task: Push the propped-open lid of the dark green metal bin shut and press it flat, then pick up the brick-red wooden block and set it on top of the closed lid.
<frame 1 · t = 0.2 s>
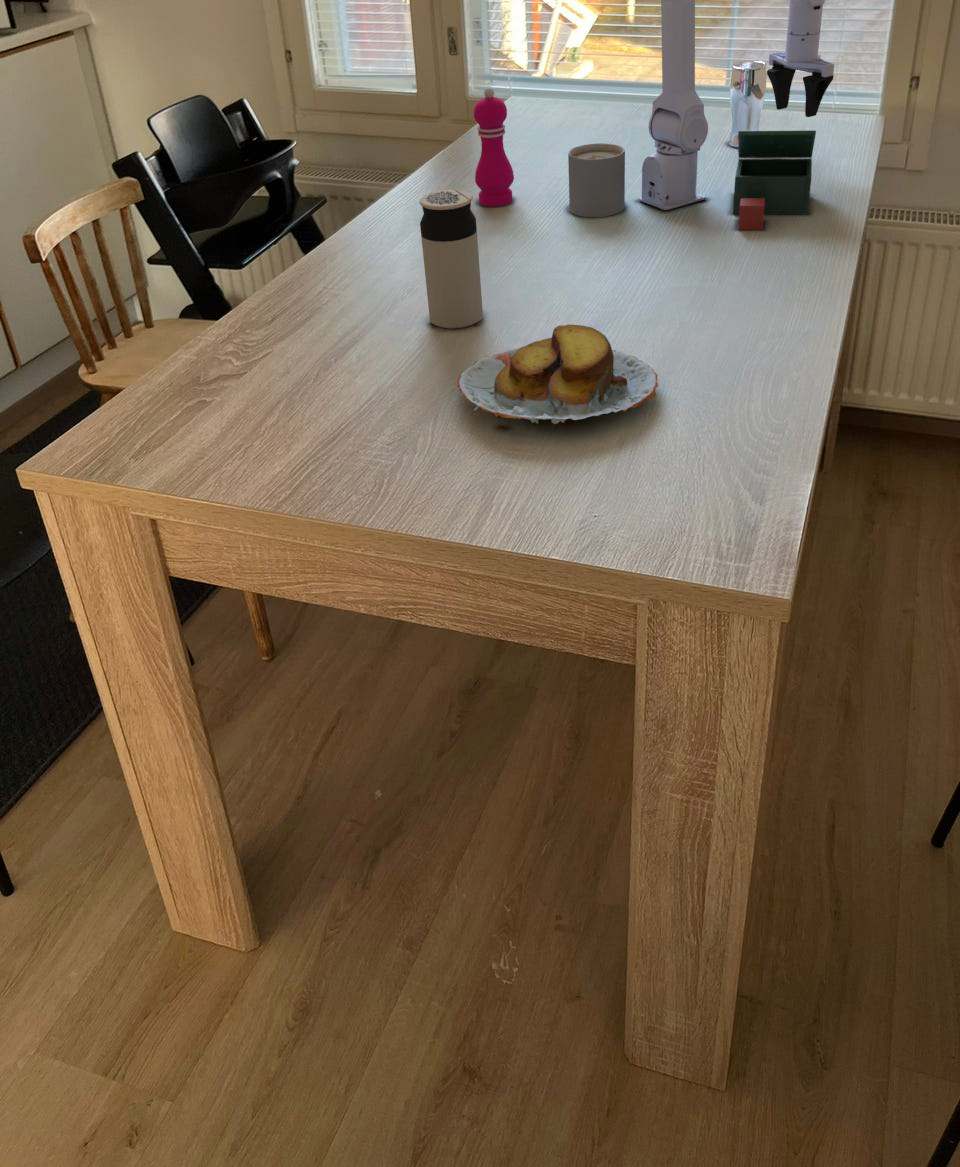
hand: (796, 112, 208), 10 cm above the table, tool pointing down, fingers open, 7 cm apart
coffee mug: (599, 206, 205), on the table
pepper mill: (495, 202, 211), on the table
block: (750, 225, 191), on the table
bin lid: (775, 144, 193), point 10 cm above the table, hinge at 35.0°
travel mug: (456, 320, 168), on the table
bin: (770, 204, 199), on the table
food on plate: (557, 396, 145), on the table
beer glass: (744, 144, 229), on the table
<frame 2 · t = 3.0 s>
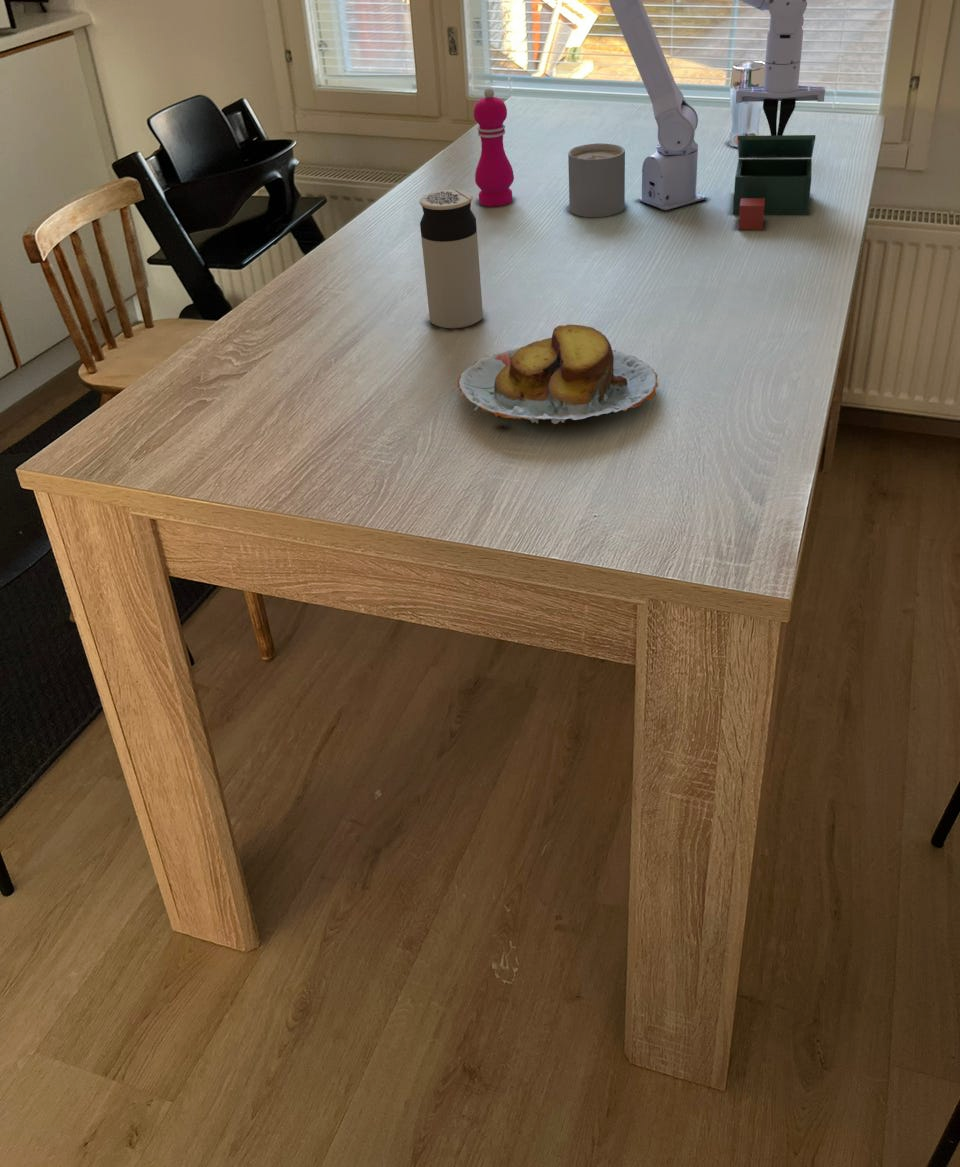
hand: (775, 145, 195), 9 cm above the table, tool pointing down, fingers closed
bin lid: (775, 147, 193), point 10 cm above the table, hinge at 31.0°, touching gripper
everything else where it was.
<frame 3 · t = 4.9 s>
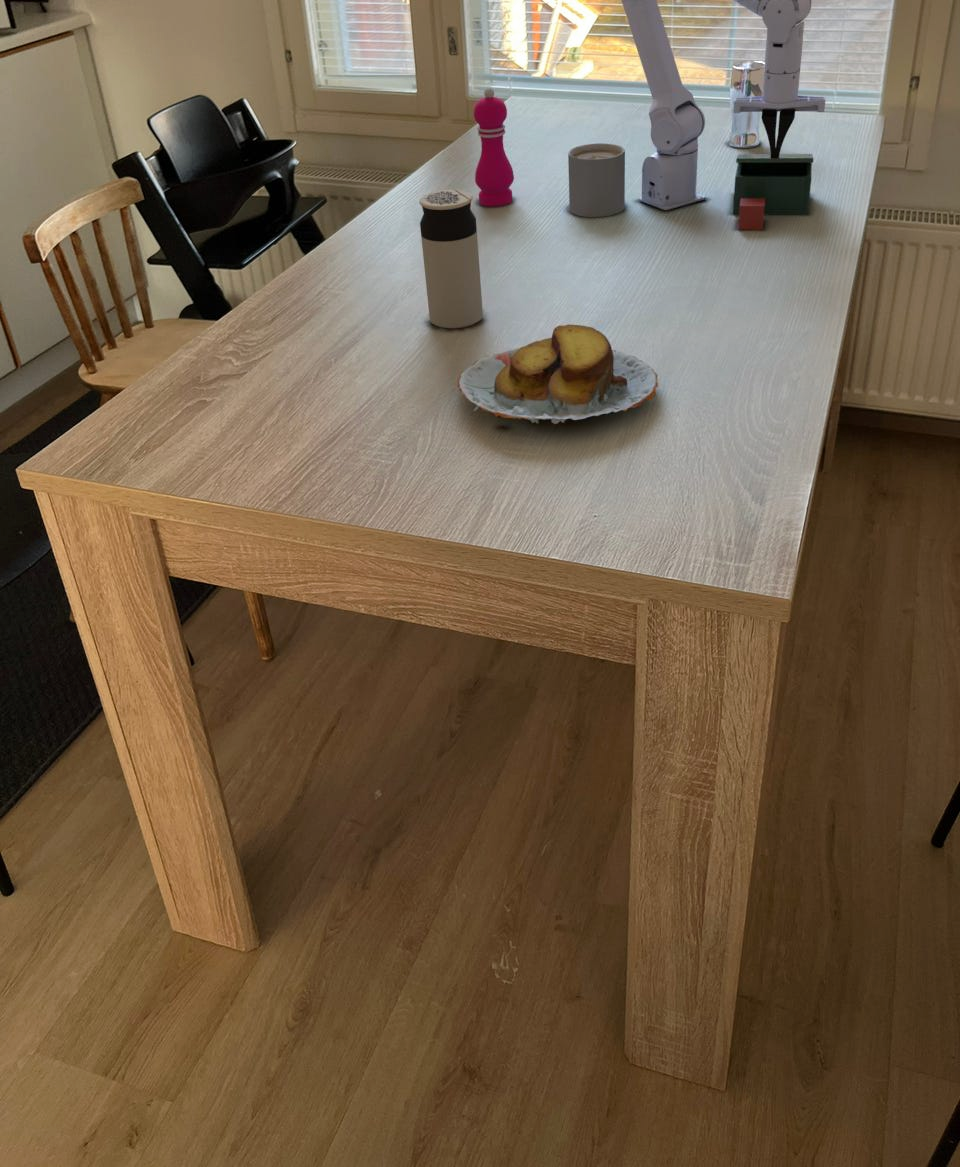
hand: (774, 156, 190), 9 cm above the table, tool pointing down, fingers closed, pressing on bin lid
bin lid: (774, 158, 194), point 8 cm above the table, hinge at 12.4°, touching gripper
everything else where it was.
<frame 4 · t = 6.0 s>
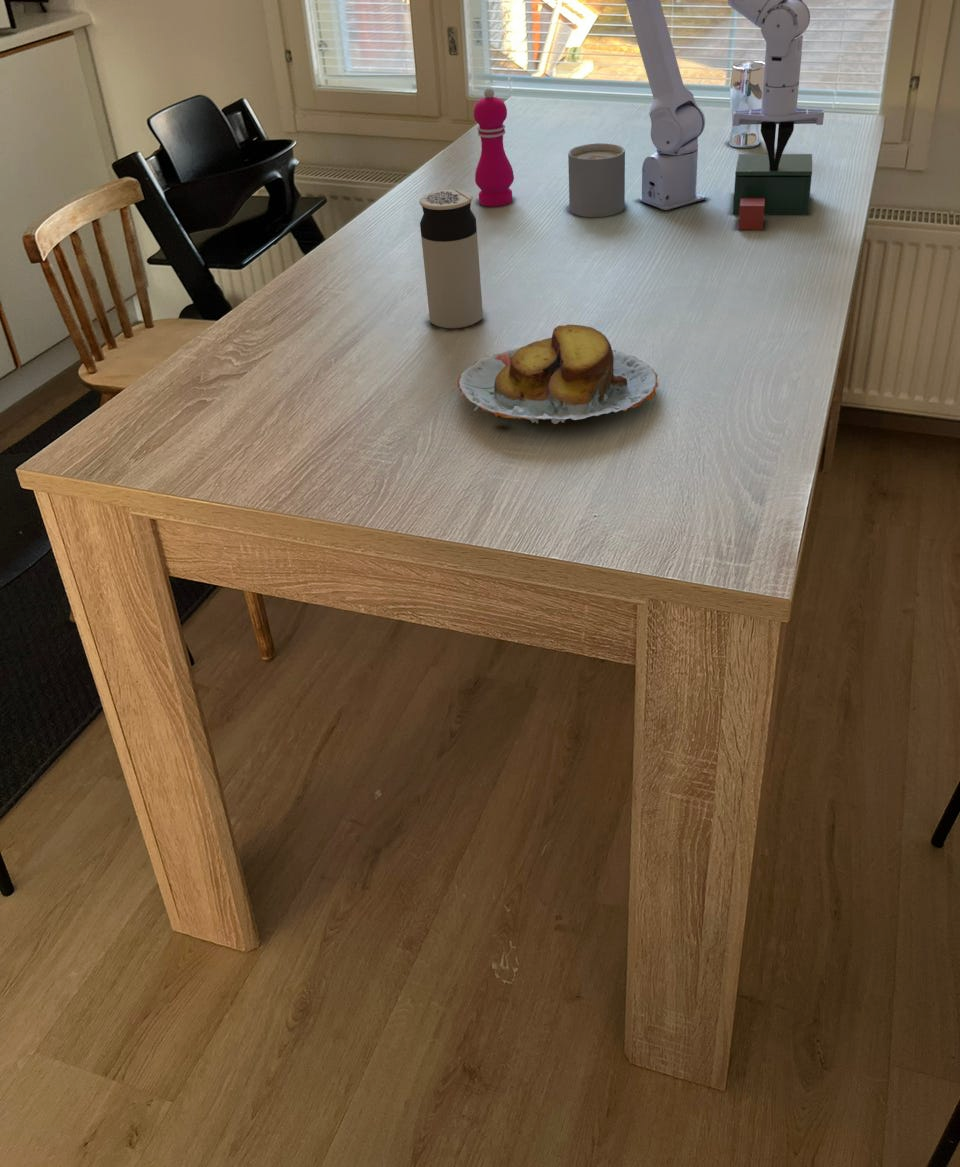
hand: (773, 168, 191), 7 cm above the table, tool pointing down, fingers closed, pressing on bin lid
bin lid: (774, 164, 194), point 7 cm above the table, hinge at 1.7°, touching gripper
everything else where it was.
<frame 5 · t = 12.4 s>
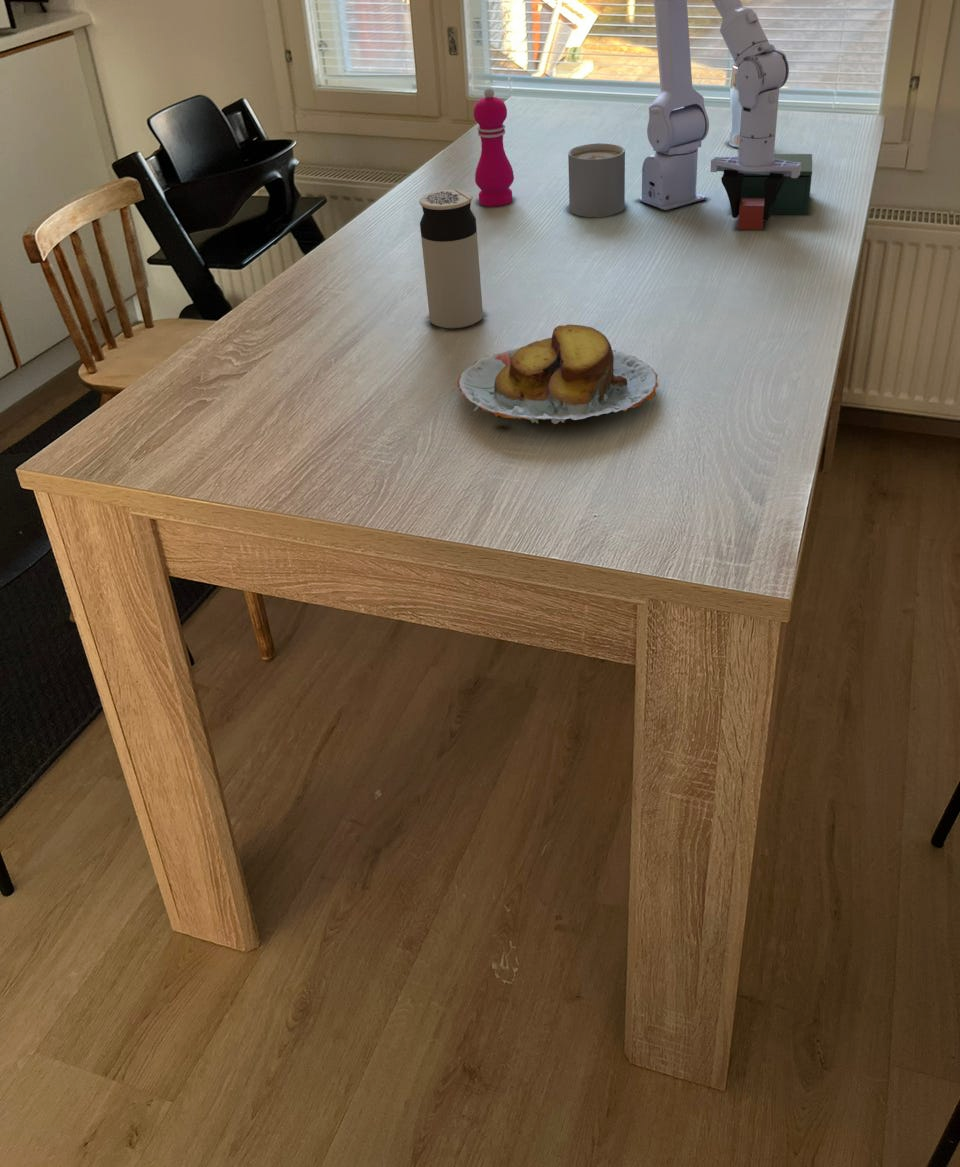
hand: (751, 217, 190), 1 cm above the table, tool pointing down, fingers closed on block, 5 cm apart
block: (750, 225, 191), on the table, touching gripper
bin lid: (774, 164, 194), point 7 cm above the table, hinge at 1.7°
everything else where it was.
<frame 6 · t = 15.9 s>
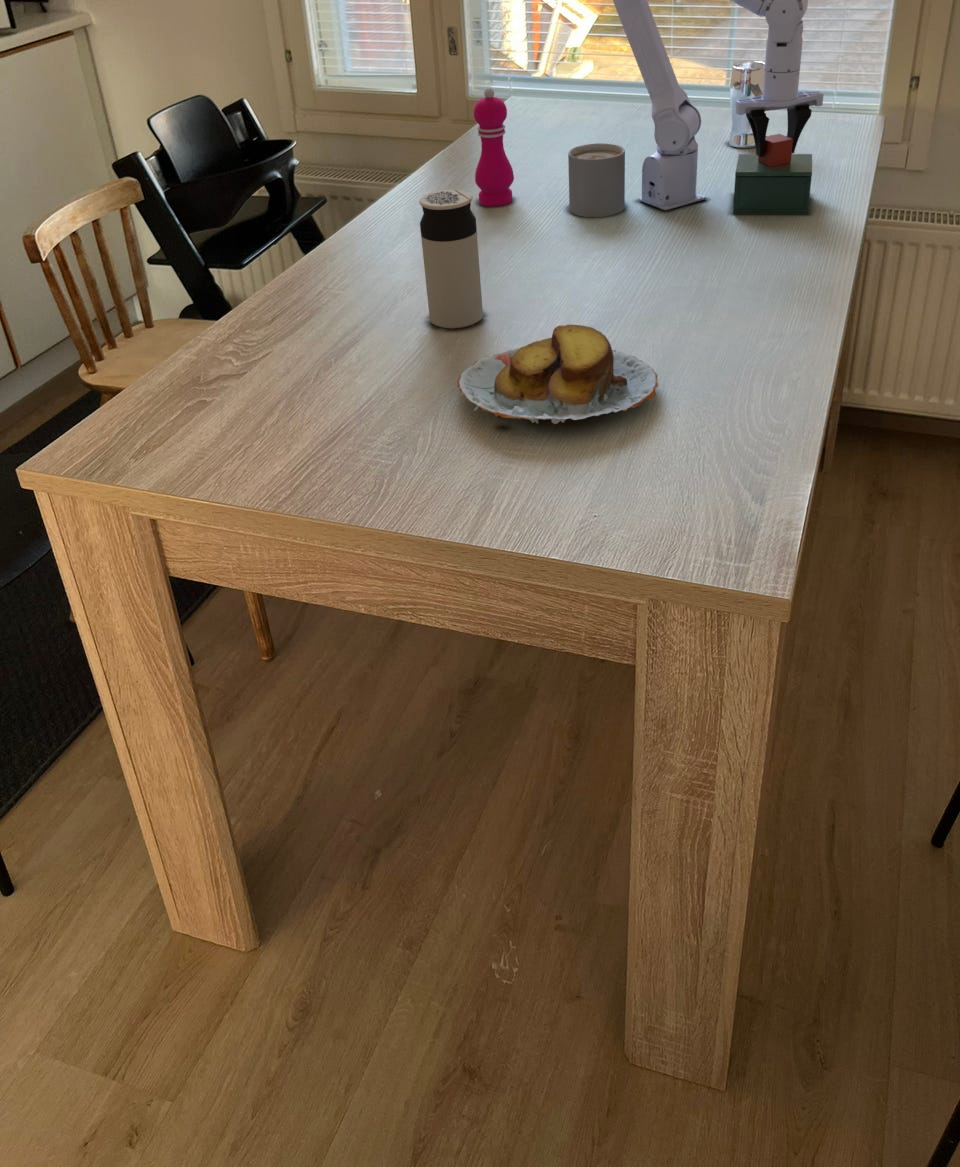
hand: (775, 153, 193), 9 cm above the table, tool pointing down, fingers closed on block, 5 cm apart
block: (774, 162, 194), point 7 cm above the table, touching bin lid, gripper
bin lid: (774, 164, 194), point 7 cm above the table, hinge at 1.1°, touching block
everything else where it was.
when the fingers open (9 cm above the table, at t = 16.0 s): block stays where it is, resting on bin lid.
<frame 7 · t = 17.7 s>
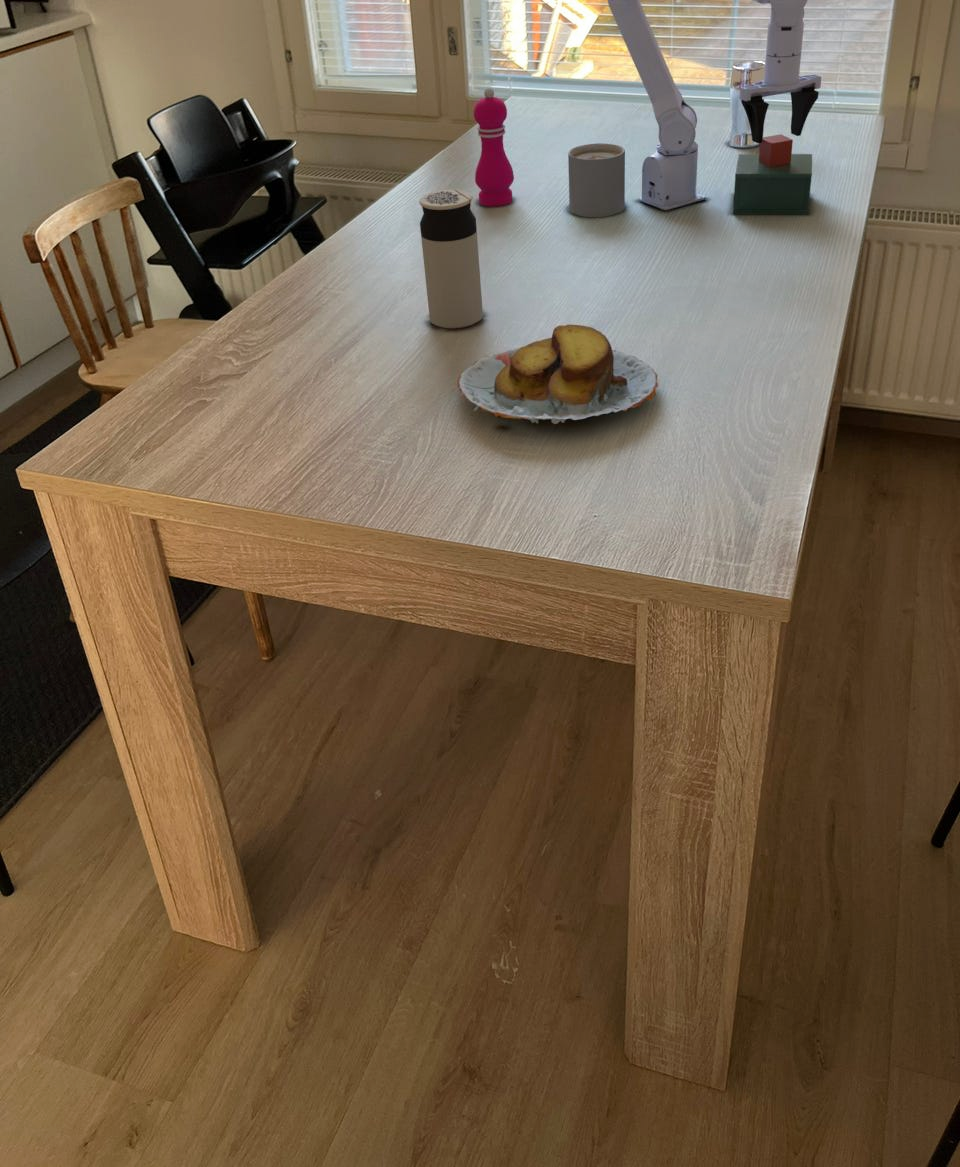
hand: (776, 138, 195), 10 cm above the table, tool pointing down, fingers open, 7 cm apart
block: (774, 162, 195), point 7 cm above the table, touching bin lid, gripper
bin lid: (774, 165, 194), point 7 cm above the table, hinge at -0.3°, touching bin, block
everything else where it was.
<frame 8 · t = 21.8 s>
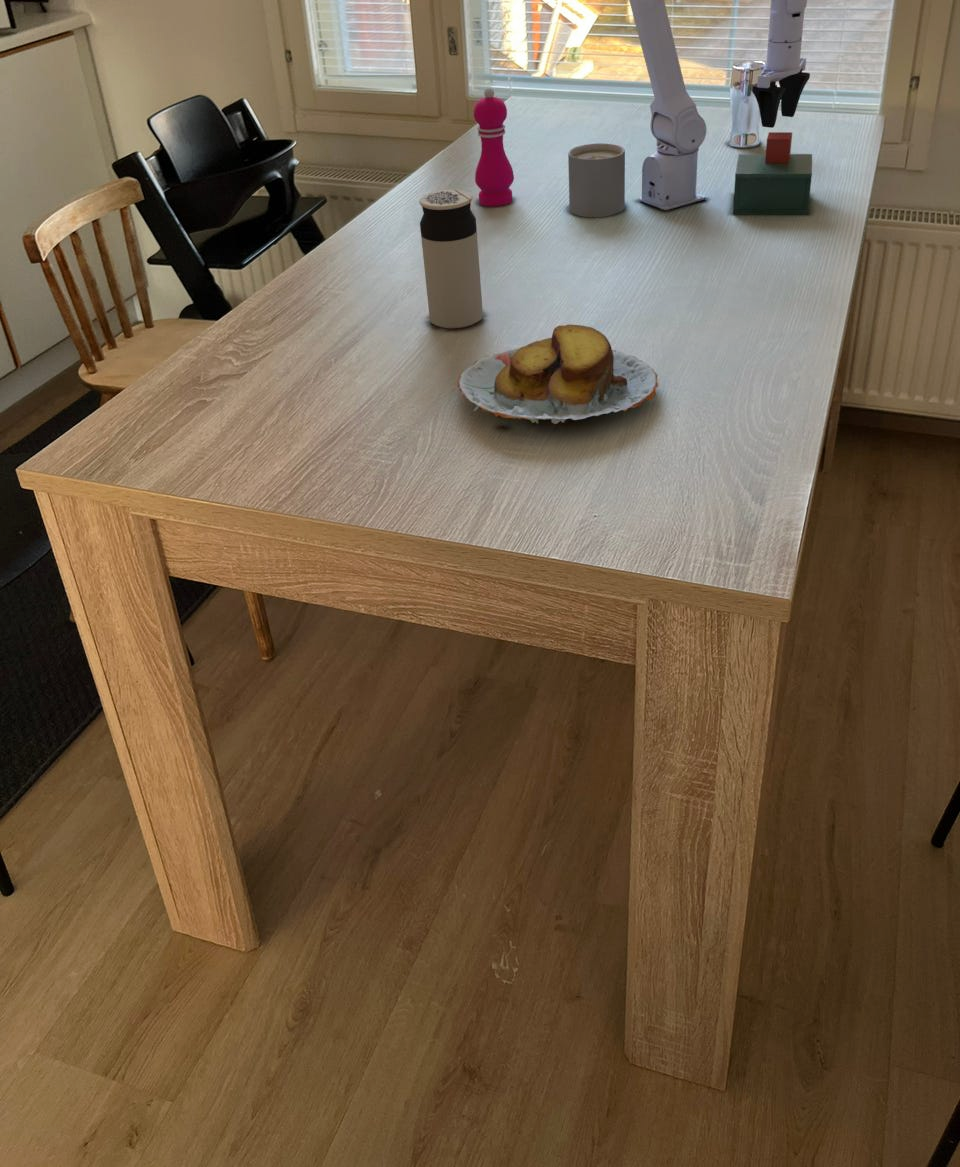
hand: (778, 121, 203), 10 cm above the table, tool pointing down, fingers open, 7 cm apart
block: (777, 159, 196), point 7 cm above the table, touching bin lid
everything else where it was.
at the end: bin lid at +0° (first picture: +35°); block 2.2 cm off-centre on the bin, point 7.1 cm above the bin's base; block tilted 0° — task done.
